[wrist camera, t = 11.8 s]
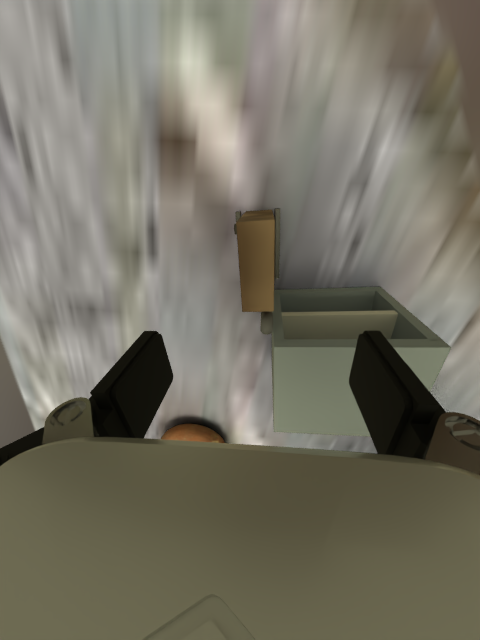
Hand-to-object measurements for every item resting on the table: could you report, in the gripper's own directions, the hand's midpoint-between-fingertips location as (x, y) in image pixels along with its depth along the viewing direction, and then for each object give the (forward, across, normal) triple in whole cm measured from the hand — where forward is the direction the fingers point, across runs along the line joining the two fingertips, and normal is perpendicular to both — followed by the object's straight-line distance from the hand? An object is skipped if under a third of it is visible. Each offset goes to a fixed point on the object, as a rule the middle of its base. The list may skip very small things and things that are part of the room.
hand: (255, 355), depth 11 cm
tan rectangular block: (+20, 0, -1) cm, 21 cm away
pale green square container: (+21, -6, +6) cm, 22 cm away
